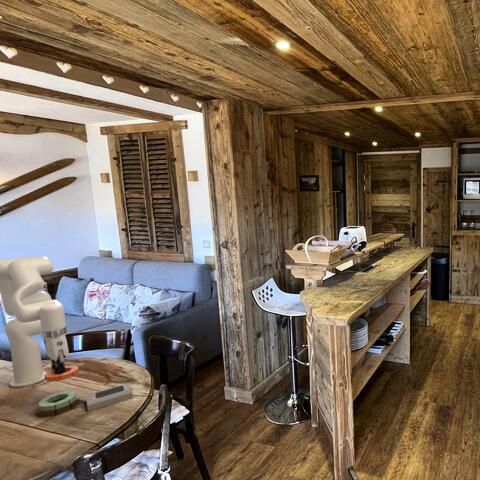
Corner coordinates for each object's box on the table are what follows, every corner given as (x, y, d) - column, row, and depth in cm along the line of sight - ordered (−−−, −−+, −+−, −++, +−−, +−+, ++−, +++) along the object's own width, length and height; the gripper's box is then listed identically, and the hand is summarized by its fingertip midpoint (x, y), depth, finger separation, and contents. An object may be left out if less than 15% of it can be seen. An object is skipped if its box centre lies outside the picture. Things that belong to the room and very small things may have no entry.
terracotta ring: (42, 377, 149) (41, 372, 149) (73, 367, 158) (72, 363, 158) (50, 384, 144) (50, 379, 144) (82, 373, 153) (81, 369, 153)
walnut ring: (34, 410, 148) (33, 405, 148) (72, 396, 158) (71, 391, 158) (43, 419, 142) (43, 414, 142) (82, 404, 152) (82, 400, 152)
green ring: (35, 404, 148) (35, 400, 148) (70, 392, 158) (70, 388, 157) (44, 413, 142) (43, 409, 142) (80, 400, 152) (79, 396, 152)
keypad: (85, 393, 154) (128, 381, 165) (86, 401, 155) (128, 389, 165) (87, 403, 147) (131, 390, 158) (87, 411, 148) (132, 397, 158)
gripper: (73, 333, 150) (77, 374, 152) (59, 326, 158) (63, 364, 160) (49, 339, 144) (54, 381, 146) (35, 331, 152) (40, 371, 154)
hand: (58, 372), depth 153 cm, fingers closed on terracotta ring, 2 cm apart
